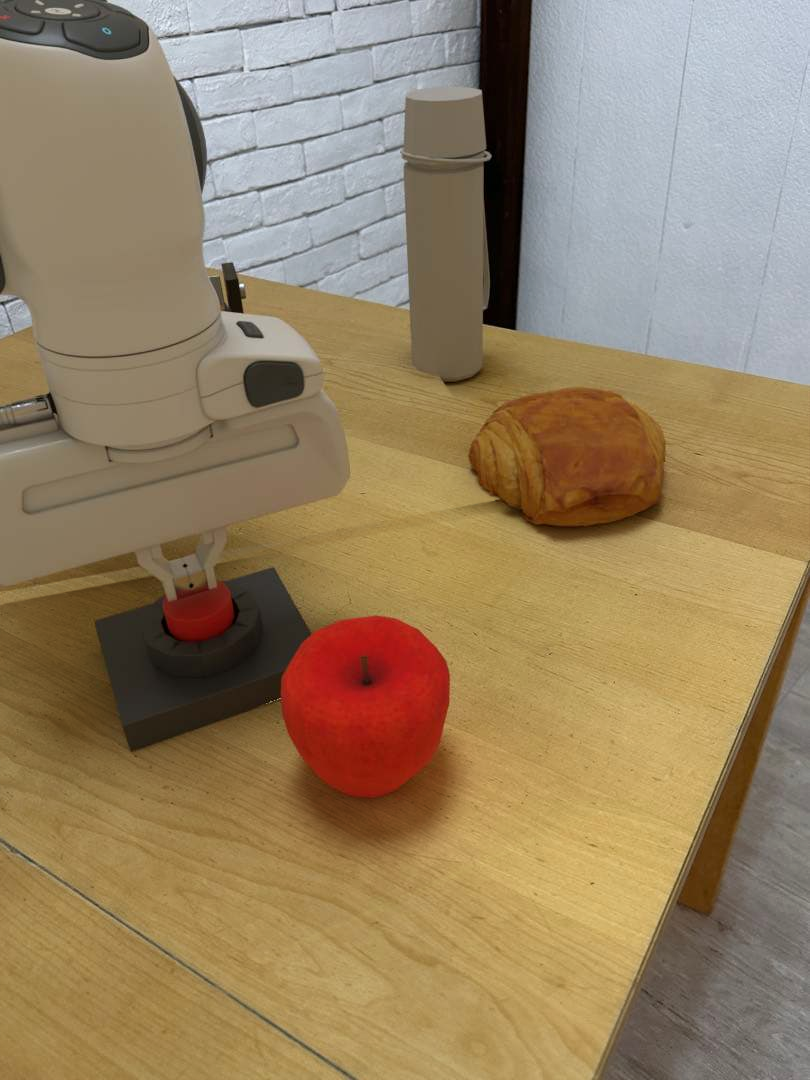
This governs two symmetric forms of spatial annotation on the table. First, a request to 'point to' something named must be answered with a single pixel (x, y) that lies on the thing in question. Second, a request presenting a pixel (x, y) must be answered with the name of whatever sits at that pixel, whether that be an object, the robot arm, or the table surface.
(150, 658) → the button box
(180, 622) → the button
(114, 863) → the table surface
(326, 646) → the apple
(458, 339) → the water bottle
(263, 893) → the table surface
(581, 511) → the croissant
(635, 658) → the table surface
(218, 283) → the lever
